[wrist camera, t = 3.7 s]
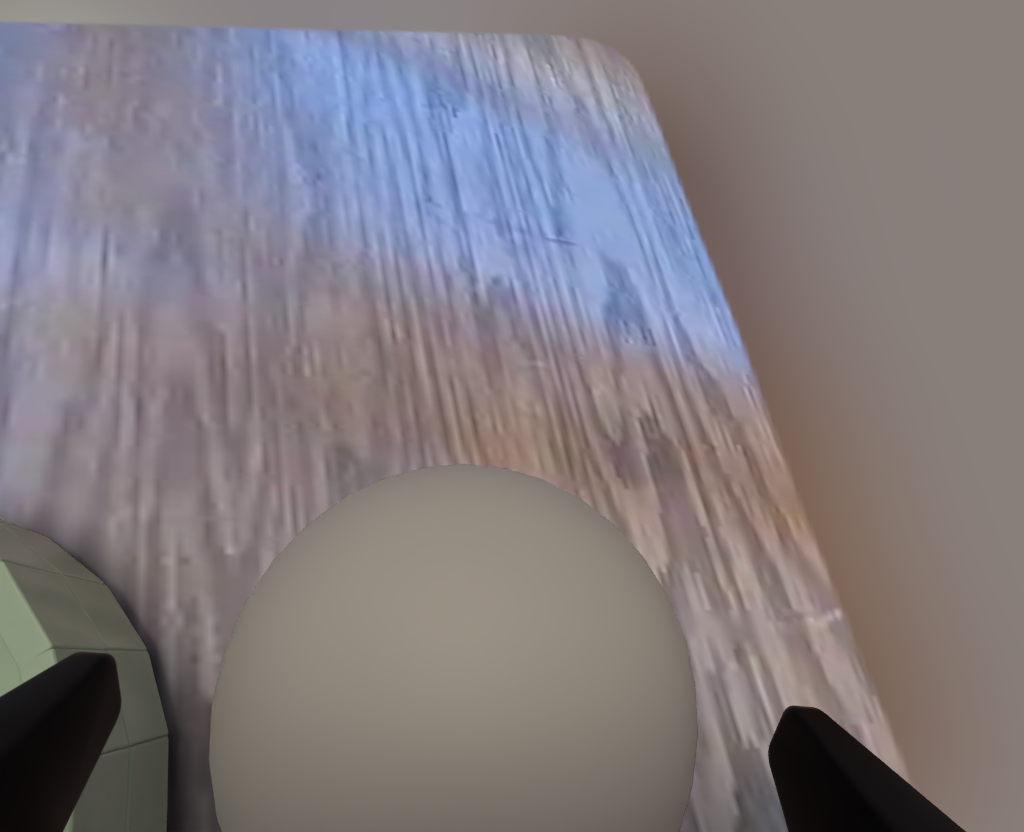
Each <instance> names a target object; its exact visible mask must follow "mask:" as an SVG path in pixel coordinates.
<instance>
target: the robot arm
mask: <svg viewBox="0 0 1024 832" xmlns="http://www.w3.org/2000/svg"><path fill="white" fill-rule="evenodd" d="M121 703H122V699H121V691H120V685H119V678H118V671H117V664H116V660H115V658H114V657H113V656H112V655H111V654H108V653H97V652H77V653H74V654H72V655H70V656H68V657H66V658H64V659H63V660H61V661H59V662H58V663H56V664H54V665H53V666H51V667H49V668H48V669H46V670H44V671H43V672H41V673H39V674H37V675H36V676H34V677H32V678H31V679H29V680H27V681H26V682H24V683H22V684H21V685H19V686H17V687H16V688H14V689H12V690H11V691H9V692H7V693H6V694H4V695H2V696H0V832H63V831H64V829H65V827H66V825H67V823H68V821H69V819H70V816H71V814H72V812H73V810H74V808H75V806H76V804H77V802H78V800H79V798H80V796H81V794H82V792H83V790H84V788H85V786H86V784H87V782H88V780H89V777H90V775H91V773H92V771H93V769H94V767H95V765H96V763H97V761H98V759H99V757H100V755H101V753H102V751H103V749H104V747H105V745H106V743H107V740H108V738H109V736H110V734H111V732H112V730H113V728H114V726H115V724H116V722H117V720H118V717H119V714H120V710H121ZM768 757H769V764H770V768H771V772H772V775H773V779H774V782H775V786H776V789H777V793H778V796H779V800H780V803H781V807H782V810H783V814H784V817H785V821H786V824H787V828H788V831H789V832H966V831H964V830H963V829H962V828H961V827H960V826H958V825H957V824H956V823H955V822H954V821H952V820H951V819H950V818H949V817H948V816H947V815H945V814H944V813H943V812H942V811H941V810H939V809H938V808H937V807H936V806H935V805H933V804H932V803H931V802H930V801H929V800H927V799H926V798H925V797H924V796H923V795H921V794H920V793H919V792H918V791H917V790H916V789H914V788H913V787H912V786H911V785H910V784H909V783H907V782H906V781H905V780H904V779H903V778H901V777H900V776H899V775H898V774H897V773H895V772H894V771H893V770H892V769H891V768H889V767H888V766H887V765H886V764H885V763H884V762H882V761H881V760H880V759H879V758H878V757H876V756H875V755H874V754H873V753H872V752H870V751H869V750H868V749H867V748H866V747H865V746H863V745H862V744H861V743H860V742H859V741H857V740H856V739H855V738H854V737H853V736H851V735H850V734H849V733H848V732H847V731H846V730H844V729H843V728H842V727H841V726H840V725H838V724H837V723H836V722H835V721H834V720H832V719H831V718H830V717H829V716H828V715H827V714H825V713H824V712H823V711H821V710H819V709H817V708H814V707H803V706H789V707H788V708H787V709H785V711H784V712H783V715H782V717H781V719H780V722H779V724H778V726H777V728H776V731H775V733H774V735H773V738H772V740H771V742H770V745H769V751H768Z"/></svg>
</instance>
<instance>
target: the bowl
mask: <svg viewBox="0 0 1024 832" xmlns="http://www.w3.org/2000/svg"><path fill="white" fill-rule="evenodd" d="M146 650H147V648H146V646H145V645H144V643H143V642H142V640H141V638H140V637H139V635H138V634H137V632H136V630H135V629H134V627H133V626H132V624H131V623H130V621H129V619H128V618H127V616H126V615H125V613H124V611H123V610H122V608H121V607H120V605H119V604H118V602H117V600H116V599H115V597H114V596H113V594H112V592H111V591H110V589H109V588H108V586H107V585H104V583H103V581H101V580H100V579H99V578H98V577H97V576H95V575H94V574H93V573H92V572H90V571H89V570H88V569H87V568H85V567H84V566H83V565H82V564H80V563H79V562H78V561H77V560H75V559H74V558H73V557H72V556H70V555H69V554H68V553H67V552H65V551H64V550H63V549H62V548H60V547H59V546H58V545H57V544H55V543H54V542H53V541H52V540H50V539H49V538H46V537H45V536H44V535H42V534H39V533H37V532H34V531H31V530H29V529H26V528H23V527H21V526H18V525H16V524H13V523H10V522H8V521H5V520H2V519H0V696H2V695H4V694H6V693H7V692H9V691H11V690H12V689H14V688H16V687H17V686H19V685H21V684H22V683H24V682H26V681H27V680H29V679H31V678H32V677H34V676H36V675H37V674H39V673H41V672H43V671H44V670H46V669H48V668H49V667H51V666H53V665H54V664H56V663H58V662H59V661H61V660H63V659H64V658H66V657H68V656H70V655H72V654H74V653H77V652H97V653H108V654H111V655H112V656H113V657H114V658H115V660H116V664H117V671H118V678H119V685H120V691H121V699H122V703H121V710H120V714H119V717H118V720H117V722H116V724H115V726H114V728H113V730H112V732H111V734H110V736H109V738H108V740H107V743H106V745H105V747H104V749H103V751H102V753H101V755H100V757H99V759H98V761H97V763H96V765H95V767H94V769H93V771H92V773H91V775H90V777H89V780H88V782H87V784H86V786H85V788H84V790H83V792H82V794H81V796H80V798H79V800H78V802H77V804H76V806H75V808H74V810H73V812H72V814H71V816H70V819H69V821H68V823H67V825H66V827H65V829H64V831H63V832H167V788H168V743H169V739H168V737H167V735H168V728H167V724H166V720H165V716H164V712H163V709H162V705H161V701H160V697H159V693H158V689H157V685H156V681H155V677H154V673H153V669H152V665H151V661H150V657H149V654H148V652H147V651H146Z"/></svg>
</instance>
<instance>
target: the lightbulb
mask: <svg viewBox="0 0 1024 832" xmlns="http://www.w3.org/2000/svg"><path fill="white" fill-rule="evenodd" d="M697 739H698V725H697V708H696V691H695V681H694V677H693V672H692V668H691V664H690V659H689V655H688V651H687V646H686V642H685V638H684V635H683V632H682V630H681V627H680V625H679V623H678V620H677V618H676V615H675V613H674V611H673V608H672V606H671V603H670V601H669V599H668V596H667V594H666V592H665V591H664V589H663V587H662V586H661V584H660V583H659V581H658V579H657V578H656V576H655V575H654V573H653V572H652V570H651V568H650V567H649V565H648V564H647V562H646V560H645V559H644V557H643V556H642V555H641V554H640V553H639V551H638V550H637V549H636V548H635V547H634V546H633V545H632V544H631V543H630V542H629V540H628V539H627V538H626V537H625V536H624V535H623V534H622V533H621V532H620V531H619V529H618V528H617V527H616V526H615V525H614V524H613V523H611V522H610V521H609V520H607V519H606V518H605V517H604V516H602V515H601V514H600V513H598V512H597V511H596V510H594V509H593V508H592V507H590V506H589V505H588V504H587V503H585V502H584V501H583V500H581V499H580V498H578V497H576V496H574V495H572V494H570V493H568V492H566V491H564V490H562V489H560V488H558V487H557V486H555V485H553V484H551V483H549V482H547V481H545V480H543V479H540V478H536V477H533V476H529V475H526V474H523V473H519V472H516V471H512V470H509V469H506V468H498V467H488V466H478V465H468V464H460V465H448V466H437V467H426V468H420V469H417V470H413V471H410V472H406V473H403V474H399V475H396V476H392V477H388V478H385V479H382V480H380V481H378V482H376V483H374V484H372V485H370V486H368V487H366V488H364V489H361V490H359V491H357V492H355V493H353V494H351V495H349V496H347V497H345V498H343V499H342V500H340V501H339V502H338V503H336V504H335V505H334V506H332V507H331V508H330V509H328V510H327V511H326V512H324V513H323V514H321V515H320V516H319V517H317V518H316V519H315V520H313V521H312V522H311V523H309V524H308V525H307V526H306V527H305V528H304V529H303V530H302V531H301V532H300V533H299V534H298V535H297V536H296V537H295V538H294V539H293V540H292V541H291V542H290V543H289V545H288V546H287V547H286V548H285V549H284V550H283V551H282V552H281V553H280V554H279V555H278V556H277V557H276V558H275V559H274V560H273V562H272V563H271V565H270V566H269V568H268V569H267V571H266V572H265V574H264V575H263V577H262V578H261V580H260V581H259V583H258V584H257V586H256V587H255V589H254V590H253V592H252V594H251V595H250V597H249V598H248V600H247V601H246V603H245V605H244V607H243V609H242V612H241V614H240V616H239V619H238V621H237V623H236V626H235V628H234V630H233V632H232V635H231V637H230V639H229V642H228V644H227V646H226V649H225V651H224V655H223V659H222V663H221V668H220V672H219V676H218V680H217V684H216V689H215V693H214V697H213V701H212V709H211V729H210V748H209V766H210V773H211V780H212V787H213V794H214V801H215V808H216V815H217V820H218V823H219V826H220V828H221V831H222V832H679V830H680V826H681V823H682V820H683V816H684V813H685V809H686V806H687V802H688V799H689V796H690V792H691V789H692V784H693V775H694V766H695V757H696V748H697Z"/></svg>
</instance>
